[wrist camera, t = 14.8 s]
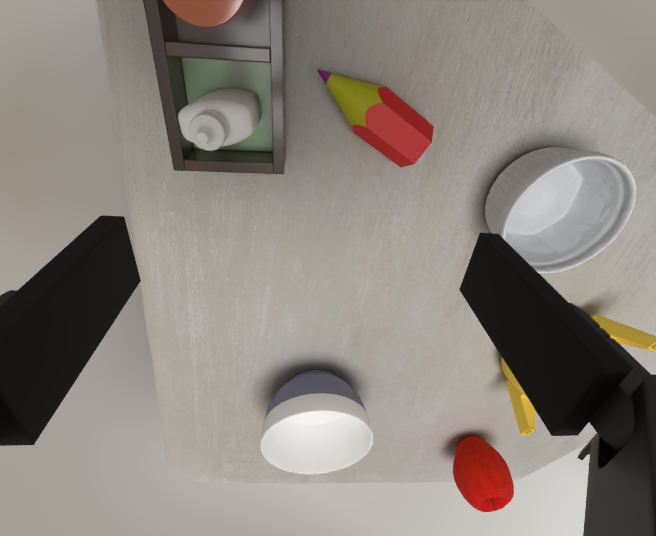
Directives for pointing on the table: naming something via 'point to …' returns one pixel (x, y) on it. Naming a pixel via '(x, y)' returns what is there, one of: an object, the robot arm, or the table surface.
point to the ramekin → (560, 206)
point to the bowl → (315, 425)
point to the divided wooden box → (222, 83)
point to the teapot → (616, 331)
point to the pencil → (381, 118)
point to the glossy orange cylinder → (214, 12)
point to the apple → (482, 475)
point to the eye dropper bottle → (220, 118)
